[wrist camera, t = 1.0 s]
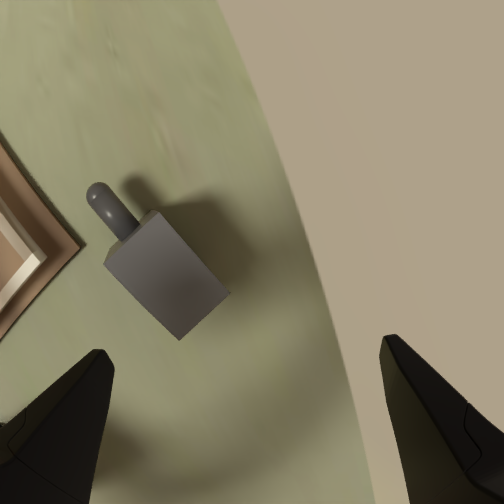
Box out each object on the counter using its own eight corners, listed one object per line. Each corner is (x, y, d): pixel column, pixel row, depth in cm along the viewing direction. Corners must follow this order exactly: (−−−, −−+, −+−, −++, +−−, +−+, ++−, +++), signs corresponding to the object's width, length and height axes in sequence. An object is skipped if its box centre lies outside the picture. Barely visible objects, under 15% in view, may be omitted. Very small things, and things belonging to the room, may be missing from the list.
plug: (166, 307, 23) (179, 340, 17) (75, 207, 20) (56, 209, 14) (205, 271, 24) (230, 293, 18) (117, 168, 20) (113, 156, 15)
